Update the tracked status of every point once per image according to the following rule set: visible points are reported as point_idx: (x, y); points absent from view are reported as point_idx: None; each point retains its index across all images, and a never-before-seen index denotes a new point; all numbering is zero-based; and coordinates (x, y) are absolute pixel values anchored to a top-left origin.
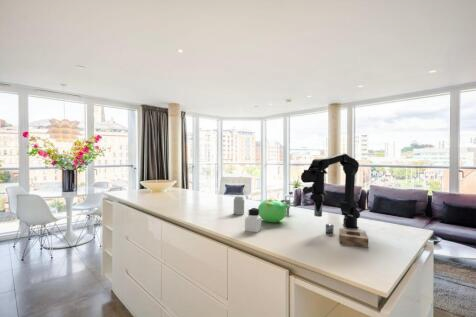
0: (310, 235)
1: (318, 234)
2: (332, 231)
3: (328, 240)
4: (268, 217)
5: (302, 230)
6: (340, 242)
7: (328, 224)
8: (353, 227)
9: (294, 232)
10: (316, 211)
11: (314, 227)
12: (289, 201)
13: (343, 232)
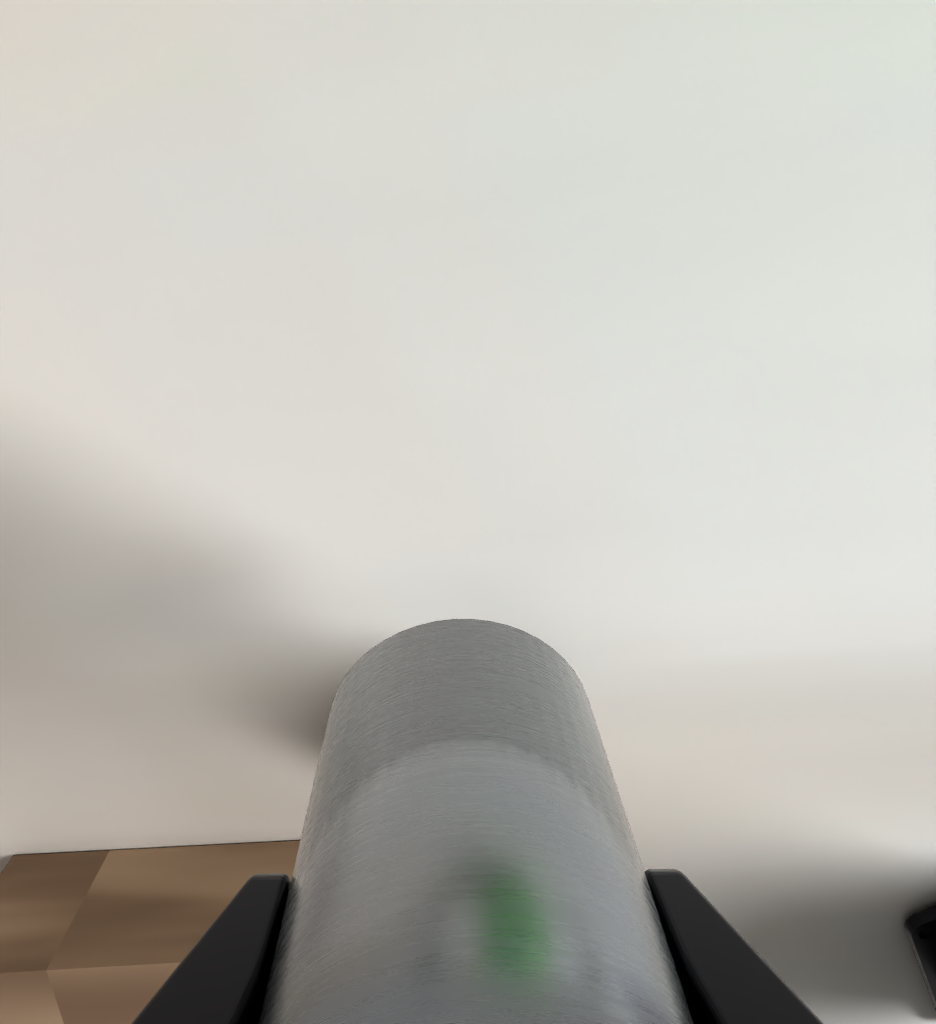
0: (148, 411)
1: (307, 543)
2: None
3: (62, 717)
4: None
5: (422, 187)
6: (6, 879)
7: None
8: (929, 984)
9: (146, 9)
10: (304, 835)
11: (779, 417)
12: None
13: None
